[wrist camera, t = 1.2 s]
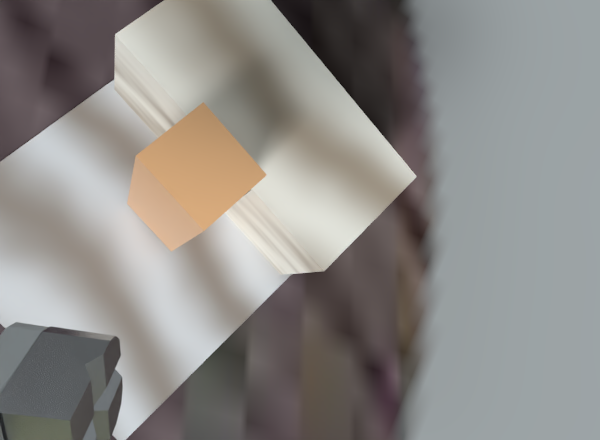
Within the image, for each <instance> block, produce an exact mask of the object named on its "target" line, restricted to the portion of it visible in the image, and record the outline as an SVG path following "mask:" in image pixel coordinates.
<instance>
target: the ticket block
mask: <svg viewBox="0 0 600 440" xmlns="http://www.w3.org/2000/svg"><path fill="white" fill-rule="evenodd" d="M203 102H204V103H205V105H206V106H207V107H208V108H209V109H210V110H211V111H212V113H213V114H214V115H215V116H216V117H217V118H218V120H219V121H220V122H221V123H222V124H223V125H224V126H225V128H226V129H227V130H228V131H229V132H230V133H231V134H232V136H233V137H234V138H235V139H236V140H237V141H238V142H239V144H240V145H241V146H242V147H243V148H244V149H245V150H246V152H247V153H248V154H249V155H250V156H251V157H252V158H253V160H254V161H255V162H256V163H257V164H258V165H259V166H260V168H261V169H262V170H263V171H264V172H265V173H266V174H267V175H266V176H265V177H264V178H263V179H262V180H261V181H260V182H259V183H257V184H256V185H255V186H254V187H253V188H252V189H251V190H250V191H248V192H247V193H246V194H245V195H244V196H243V197H242V198H241V199H240V200H238V201H237V202H236V203H235V204H234V205H233V206H232V207H231V208H229V209H228V210H227V211H226V212H225V213H224V214H223V215H222V216H221V217H219V218H218V219H217V220H216V221H215V222H214V223H213V224H212V225H210V226H209V227H208V228H207V229H206V230H205V231H204V232H202V233H200V234H199V235H197V236H196V237H194V238H192V239H191V240H189V241H188V242H186V243H184V244H183V245H181V246H180V247H178V248H176V249H175V250H173V251H170V250H169V249H168V247H167V246H166V245H165V244H164V243H163V242H162V241H161V240H160V239H159V238H158V237H157V236H156V235H155V233H154V232H153V231H152V230H151V229H150V228H149V227H148V226H147V225H146V224H145V223H144V222H143V220H142V219H141V218H140V217H139V216H138V215H137V214H136V213H135V212H134V211H133V210H132V209H131V208H130V206H129V205H128V204H127V201H128V195H129V190H130V184H131V179H132V173H133V168H134V162H135V157H136V155H137V154H138V153H140V152H141V151H142V150H143V149H145V148H146V147H147V146H149V145H150V144H151V143H152V142H154V141H155V140H156V139H157V138H159V137H160V136H161V135H162V134H164V133H165V132H166V131H167V130H169V129H170V128H171V127H173V126H174V125H175V124H176V123H178V122H179V121H180V120H181V119H183V118H184V117H185V116H186V115H188V114H189V113H190V112H191V111H193V110H194V109H195V108H196V107H198V106H199V105H200V104H202V103H203ZM416 177H417V176H416V175H415V174H414V173H413V172H412V170H411V169H410V168H409V167H408V165H407V164H406V163H405V162H404V161H403V159H402V158H401V157H400V156H399V155H398V153H397V152H396V151H395V150H394V149H393V147H392V146H391V145H390V144H389V143H388V141H387V140H386V139H385V138H384V136H383V135H382V134H381V133H380V132H379V130H378V129H377V128H376V127H375V126H374V124H373V123H372V122H371V121H370V120H369V118H368V117H367V116H366V115H365V113H364V112H363V111H362V110H361V109H360V107H359V106H358V105H357V104H356V103H355V101H354V100H353V99H352V98H351V97H350V95H349V94H348V93H347V92H346V91H345V89H344V88H343V87H342V86H341V84H340V83H339V82H338V81H337V80H336V78H335V77H334V76H333V75H332V74H331V72H330V71H329V70H328V69H327V68H326V66H325V65H324V64H323V63H322V62H321V60H320V59H319V58H318V57H317V55H316V54H315V53H314V52H313V51H312V49H311V48H310V47H309V46H308V45H307V43H306V42H305V41H304V40H303V39H302V37H301V36H300V35H299V34H298V32H297V31H296V30H295V29H294V28H293V26H292V25H291V24H290V23H289V22H288V20H287V19H286V18H285V17H284V16H283V14H282V13H281V12H280V11H279V10H278V8H277V7H276V6H275V5H274V3H273V2H272V1H271V0H164V1H163V2H161V3H160V4H158V5H157V6H155V7H154V8H152V9H151V10H150V11H148V12H147V13H145V14H144V15H142V16H141V17H139V18H138V19H137V20H135V21H134V22H132V23H131V24H129V25H128V26H126V27H125V28H124V29H122V30H121V31H119V32H118V33H116V34H115V79H114V80H113V81H111V82H110V83H108V84H107V85H106V86H104V87H103V88H102V89H100V90H99V91H97V92H96V93H95V94H93V95H92V96H91V97H89V98H88V99H86V100H85V101H84V102H82V103H81V104H79V105H78V106H77V107H75V108H74V109H73V110H71V111H70V112H68V113H67V114H66V115H64V116H63V117H62V118H60V119H59V120H57V121H56V122H55V123H53V124H52V125H51V126H49V127H48V128H46V129H45V130H44V131H42V132H41V133H39V134H38V135H37V136H35V137H34V138H33V139H31V140H30V141H28V142H27V143H26V144H24V145H23V146H22V147H20V148H19V149H17V150H16V151H15V152H13V153H12V154H10V155H9V156H8V157H6V158H5V159H4V160H2V161H1V162H0V323H1V324H2V325H3V326H4V327H5V328H7V327H8V326H10V325H12V324H13V323H15V322H19V323H26V324H32V325H39V326H46V327H50V326H51V327H58V328H65V329H72V330H79V331H86V332H93V333H100V334H106V335H113V336H116V337H118V338H119V339H120V350H121V357H120V359H119V361H118V363H117V366H116V368H115V369H116V370H117V372H118V373H119V374H120V375H121V376H122V383H123V391H122V402H121V407H120V411H119V415H118V419H117V423H116V426H115V428H114V431H113V434H112V435H113V436H114V437H115V438H116V439H117V440H126V439H127V438H128V437H129V436H130V435H131V434H132V433H133V432H134V431H135V430H136V429H137V428H138V427H139V426H140V425H141V424H142V423H143V422H144V421H145V420H146V419H147V418H148V417H149V416H150V415H151V414H152V413H153V412H154V411H155V410H156V409H157V408H158V407H159V406H160V405H161V404H162V403H163V402H164V401H165V400H166V399H167V398H168V397H169V396H170V395H171V394H172V393H173V392H174V391H175V390H176V389H177V388H178V387H179V386H180V385H181V384H182V383H183V382H184V381H185V380H186V379H187V378H188V377H189V376H190V375H191V374H192V373H193V372H194V371H195V370H196V369H197V368H198V367H199V366H200V365H201V364H202V363H203V362H204V361H205V360H206V359H207V358H208V357H209V356H210V355H211V354H212V353H213V352H214V351H215V350H216V349H217V348H218V347H219V346H220V345H221V344H222V343H223V342H224V341H225V340H226V339H227V338H228V337H229V336H230V335H231V334H232V333H233V332H234V331H235V330H236V329H237V328H238V327H239V326H240V325H241V324H242V323H243V322H244V321H245V320H246V319H247V318H248V317H249V316H250V315H251V314H252V313H253V312H254V311H255V310H256V309H257V308H258V307H259V306H260V305H261V304H262V303H263V302H264V301H265V300H266V299H267V298H268V297H269V296H270V295H271V294H272V293H273V292H274V291H275V290H276V289H277V288H278V287H279V286H280V285H281V284H282V283H283V282H284V281H285V280H286V279H287V278H288V277H289V276H290V275H291V274H296V273H308V272H320V271H325V270H326V269H327V268H328V267H329V266H330V265H331V264H332V263H333V262H334V261H335V260H336V258H337V257H338V256H339V255H340V254H341V253H342V252H343V251H344V250H345V249H346V248H347V247H348V246H349V245H350V244H351V243H352V242H353V241H354V240H355V239H356V238H357V237H358V236H359V235H360V234H361V233H362V232H363V231H364V230H365V229H366V228H367V227H368V226H369V225H370V224H371V223H372V222H373V221H374V220H375V219H376V218H377V217H378V216H379V215H380V214H381V213H382V212H383V211H384V209H385V208H386V207H387V206H388V205H389V204H390V203H391V202H392V201H393V200H394V199H395V198H396V197H397V196H398V195H399V194H400V193H401V192H402V191H403V190H404V189H405V188H406V187H407V186H408V185H409V184H410V183H411V182H412V181H413V180H414V179H415V178H416Z"/></svg>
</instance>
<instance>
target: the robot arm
mask: <svg viewBox="0 0 600 440" xmlns="http://www.w3.org/2000/svg"><path fill="white" fill-rule="evenodd" d="M120 357H121V350H120V339H119V338H118V337H116V336H113V335H106V334H100V333H93V332H86V331H79V330H72V329H65V328H58V327H51V326H50V327H46V326H39V325H32V324H26V323H19V322H15V323H13V324H12V325H10V326H8V327H7V328H6V329H5V330H4V331H3V332H2V334H1V335H0V440H110V439H111V436H112V434H113V431H114V428H115V426H116V423H117V419H118V415H119V411H120V407H121V402H122V391H123V383H122V376H121V375H120V374H119V373H118V372H117V370H116V369H115V368H116V366H117V363H118V361H119V359H120Z"/></svg>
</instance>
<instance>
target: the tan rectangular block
mask: <svg viewBox="0 0 600 440" xmlns="http://www.w3.org/2000/svg"><path fill="white" fill-rule="evenodd" d="M266 175H267V174H266V173H265V172H264V171H263V170H262V169H261V168H260V166H259V165H258V164H257V163H256V162H255V161H254V160H253V158H252V157H251V156H250V155H249V154H248V153H247V152H246V150H245V149H244V148H243V147H242V146H241V145H240V144H239V142H238V141H237V140H236V139H235V138H234V137H233V136H232V134H231V133H230V132H229V131H228V130H227V129H226V128H225V126H224V125H223V124H222V123H221V122H220V121H219V120H218V118H217V117H216V116H215V115H214V114H213V113H212V111H211V110H210V109H209V108H208V107H207V106H206V105H205V103H204V102H203V103H202V104H200V105H199V106H198V107H196V108H195V109H194V110H193V111H191V112H190V113H189V114H188V115H186V116H185V117H184V118H183V119H181V120H180V121H179V122H178V123H176V124H175V125H174V126H173V127H171V128H170V129H169V130H167V131H166V132H165V133H164V134H162V135H161V136H160V137H159V138H157V139H156V140H155V141H154V142H152V143H151V144H150V145H149V146H147V147H146V148H145V149H143V150H142V151H141V152H140V153H138V154H137V155H136V157H135V162H134V168H133V173H132V179H131V184H130V190H129V195H128V201H127V204H128V205H129V206H130V208H131V209H132V210H133V211H134V212H135V213H136V214H137V215H138V216H139V217H140V218H141V219H142V220H143V222H144V223H145V224H146V225H147V226H148V227H149V228H150V229H151V230H152V231H153V232H154V233H155V235H156V236H157V237H158V238H159V239H160V240H161V241H162V242H163V243H164V244H165V245H166V246H167V247H168V249H169V250H170V251H173V250H175V249H176V248H178V247H180V246H181V245H183V244H184V243H186V242H188V241H189V240H191V239H192V238H194V237H196V236H197V235H199V234H200V233H202V232H204V231H205V230H206V229H207V228H208V227H209V226H210V225H212V224H213V223H214V222H215V221H216V220H217V219H218V218H219V217H221V216H222V215H223V214H224V213H225V212H226V211H227V210H228V209H229V208H231V207H232V206H233V205H234V204H235V203H236V202H237V201H238V200H240V199H241V198H242V197H243V196H244V195H245V194H246V193H247V192H248V191H250V190H251V189H252V188H253V187H254V186H255V185H256V184H257V183H259V182H260V181H261V180H262V179H263V178H264V177H265V176H266Z"/></svg>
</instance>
